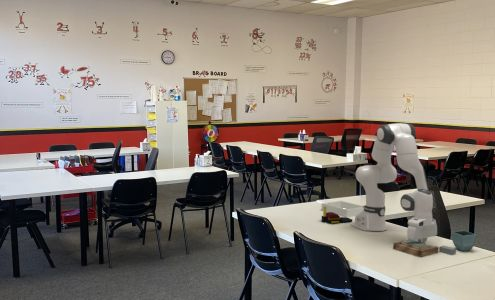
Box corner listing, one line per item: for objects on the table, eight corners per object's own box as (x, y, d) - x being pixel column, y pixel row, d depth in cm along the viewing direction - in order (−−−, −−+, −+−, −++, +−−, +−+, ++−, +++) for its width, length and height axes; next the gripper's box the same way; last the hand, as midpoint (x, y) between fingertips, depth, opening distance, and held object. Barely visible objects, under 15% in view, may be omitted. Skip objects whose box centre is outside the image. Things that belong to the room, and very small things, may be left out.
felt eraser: (439, 252, 251) (439, 246, 250) (443, 250, 253) (443, 245, 253) (451, 255, 245) (451, 249, 245) (455, 254, 247) (456, 248, 247)
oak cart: (401, 249, 254) (401, 241, 254) (411, 247, 259) (411, 239, 258) (417, 254, 246) (417, 246, 246) (427, 252, 250) (427, 243, 250)
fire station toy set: (317, 221, 317) (318, 204, 316) (345, 219, 323) (345, 203, 322) (327, 226, 303) (327, 209, 302) (355, 224, 309) (356, 207, 308)
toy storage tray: (321, 211, 344) (321, 203, 343) (341, 208, 354) (341, 200, 354) (346, 218, 323) (346, 209, 322) (366, 215, 333) (366, 206, 333)
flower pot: (461, 252, 249) (462, 235, 248) (450, 247, 258) (451, 231, 257) (476, 251, 252) (476, 234, 251) (464, 246, 260) (465, 230, 259)
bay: (393, 248, 255) (393, 243, 255) (411, 244, 263) (411, 239, 263) (420, 257, 241) (420, 251, 241) (438, 252, 249) (438, 247, 249)
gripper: (430, 216, 262) (429, 241, 263) (405, 221, 251) (404, 247, 252) (440, 219, 256) (439, 244, 258) (415, 224, 245) (414, 250, 247)
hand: (422, 246), depth 255 cm, fingers closed
